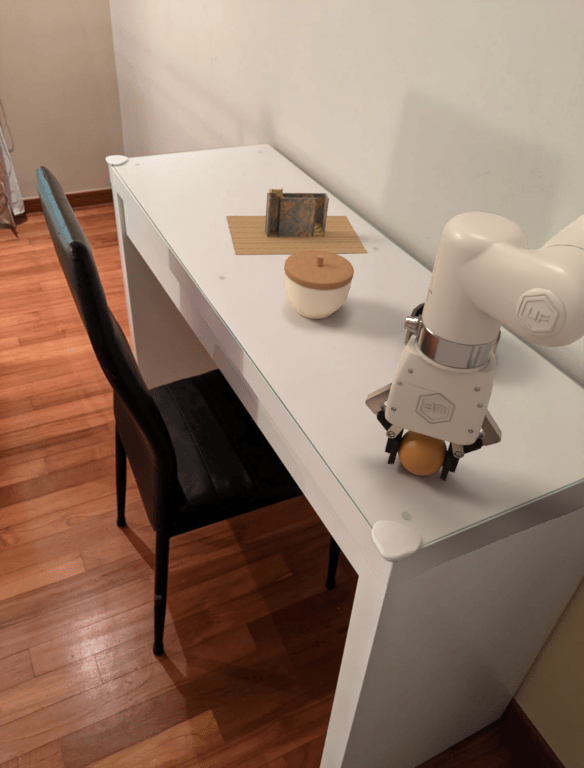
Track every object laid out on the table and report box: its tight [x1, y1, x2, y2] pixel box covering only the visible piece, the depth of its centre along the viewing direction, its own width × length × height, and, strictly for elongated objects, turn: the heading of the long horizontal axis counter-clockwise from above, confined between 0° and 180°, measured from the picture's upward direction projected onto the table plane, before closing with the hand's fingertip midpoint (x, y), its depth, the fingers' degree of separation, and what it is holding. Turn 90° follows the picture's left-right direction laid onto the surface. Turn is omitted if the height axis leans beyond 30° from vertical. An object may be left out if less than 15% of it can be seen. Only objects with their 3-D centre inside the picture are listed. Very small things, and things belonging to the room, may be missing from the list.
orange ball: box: [397, 430, 448, 476], centre depth 71 cm, size 6×6×6 cm
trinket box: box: [283, 250, 355, 320], centre depth 96 cm, size 11×11×9 cm
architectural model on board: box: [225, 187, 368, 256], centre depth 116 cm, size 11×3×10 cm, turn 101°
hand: (418, 463), depth 72 cm, fingers closed on orange ball, 5 cm apart
